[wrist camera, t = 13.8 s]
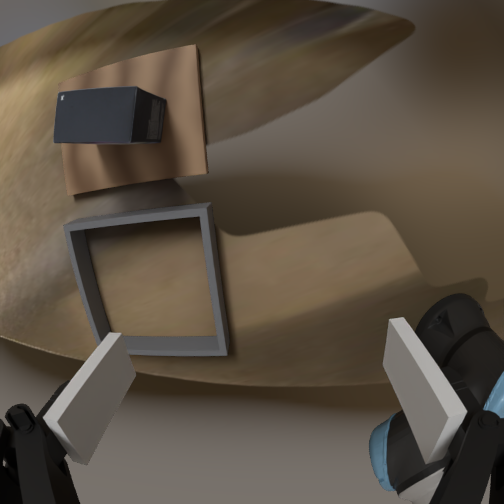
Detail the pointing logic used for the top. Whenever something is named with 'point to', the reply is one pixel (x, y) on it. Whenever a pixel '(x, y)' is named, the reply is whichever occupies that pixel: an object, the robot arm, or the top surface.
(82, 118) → the small box
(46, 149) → the top surface
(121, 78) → the walnut board
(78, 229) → the bin
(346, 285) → the top surface
